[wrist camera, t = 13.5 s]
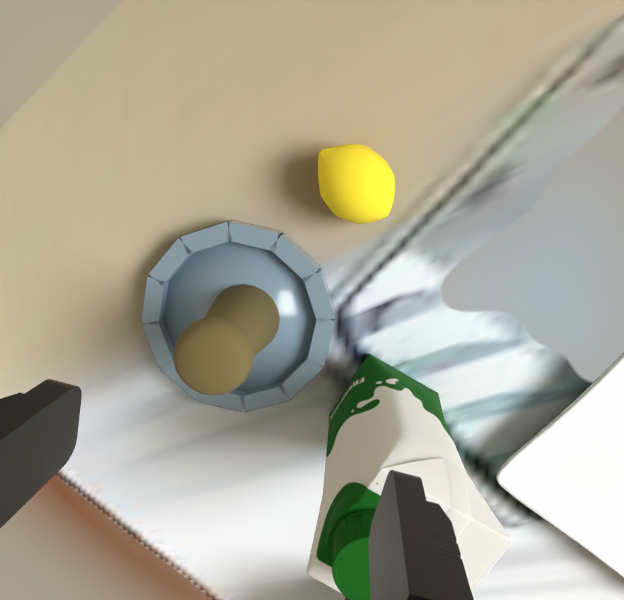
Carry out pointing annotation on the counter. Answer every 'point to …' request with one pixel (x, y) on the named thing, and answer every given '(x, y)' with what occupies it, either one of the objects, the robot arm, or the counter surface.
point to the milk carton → (373, 472)
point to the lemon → (355, 183)
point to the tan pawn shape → (226, 340)
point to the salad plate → (579, 469)
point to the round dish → (251, 271)
